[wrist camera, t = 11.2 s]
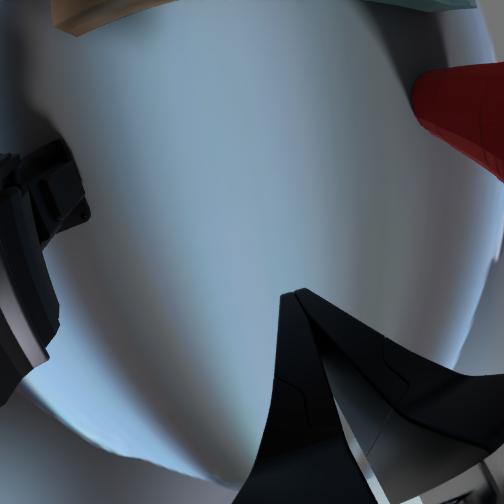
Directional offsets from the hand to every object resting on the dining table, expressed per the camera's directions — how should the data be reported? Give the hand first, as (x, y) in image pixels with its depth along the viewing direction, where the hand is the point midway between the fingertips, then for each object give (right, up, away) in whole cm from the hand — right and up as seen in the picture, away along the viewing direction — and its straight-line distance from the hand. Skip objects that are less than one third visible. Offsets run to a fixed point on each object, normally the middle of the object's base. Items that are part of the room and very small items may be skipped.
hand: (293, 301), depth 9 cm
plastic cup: (+15, +15, +10) cm, 23 cm away
